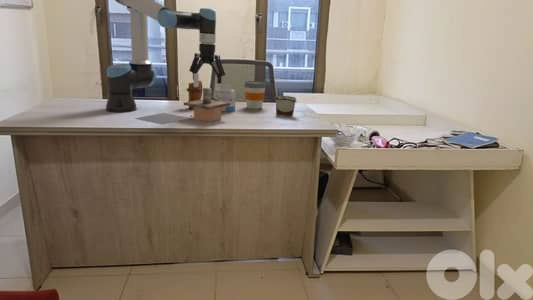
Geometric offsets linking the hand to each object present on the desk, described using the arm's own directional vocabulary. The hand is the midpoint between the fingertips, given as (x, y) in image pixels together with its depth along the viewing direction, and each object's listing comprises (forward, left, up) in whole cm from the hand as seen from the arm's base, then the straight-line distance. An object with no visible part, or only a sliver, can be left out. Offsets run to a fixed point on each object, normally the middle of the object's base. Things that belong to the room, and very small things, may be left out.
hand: (206, 88), depth 187 cm
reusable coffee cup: (-1, +44, -15) cm, 47 cm away
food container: (+24, +38, -15) cm, 48 cm away
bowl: (0, 0, -15) cm, 15 cm away
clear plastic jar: (-7, +25, -15) cm, 30 cm away
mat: (-15, -15, -15) cm, 26 cm away
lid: (0, 0, -8) cm, 8 cm away
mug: (-24, +19, -15) cm, 34 cm away
